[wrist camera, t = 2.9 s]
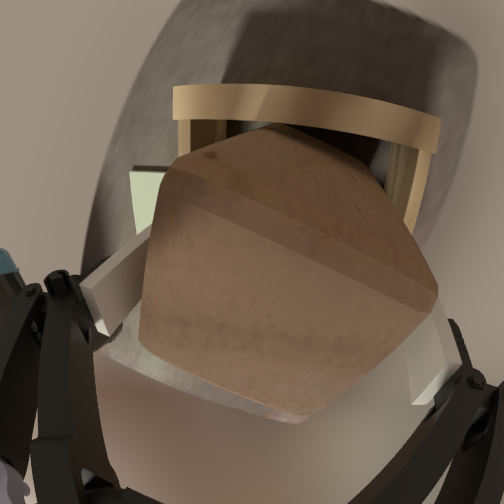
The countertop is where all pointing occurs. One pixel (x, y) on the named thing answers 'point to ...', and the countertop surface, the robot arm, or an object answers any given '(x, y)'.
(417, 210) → the crate
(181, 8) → the countertop surface
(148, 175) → the mat
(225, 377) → the wooden block
